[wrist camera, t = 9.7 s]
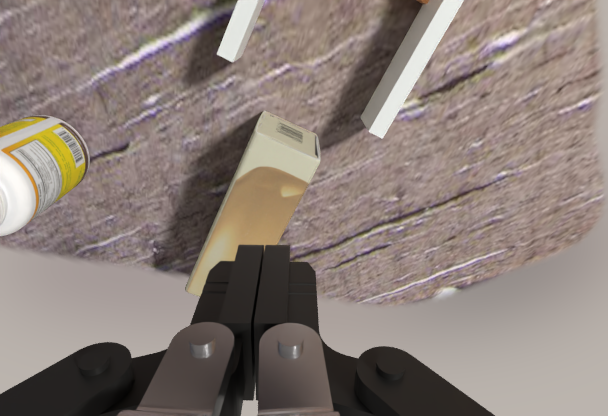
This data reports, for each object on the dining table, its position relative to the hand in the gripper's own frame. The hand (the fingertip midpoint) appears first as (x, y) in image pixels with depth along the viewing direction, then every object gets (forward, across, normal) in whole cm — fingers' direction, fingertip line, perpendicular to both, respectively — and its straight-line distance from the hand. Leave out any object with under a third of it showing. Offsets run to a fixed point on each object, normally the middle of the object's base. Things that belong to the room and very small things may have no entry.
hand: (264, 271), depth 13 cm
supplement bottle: (+19, +17, +2) cm, 25 cm away
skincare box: (+16, 0, 0) cm, 16 cm away
